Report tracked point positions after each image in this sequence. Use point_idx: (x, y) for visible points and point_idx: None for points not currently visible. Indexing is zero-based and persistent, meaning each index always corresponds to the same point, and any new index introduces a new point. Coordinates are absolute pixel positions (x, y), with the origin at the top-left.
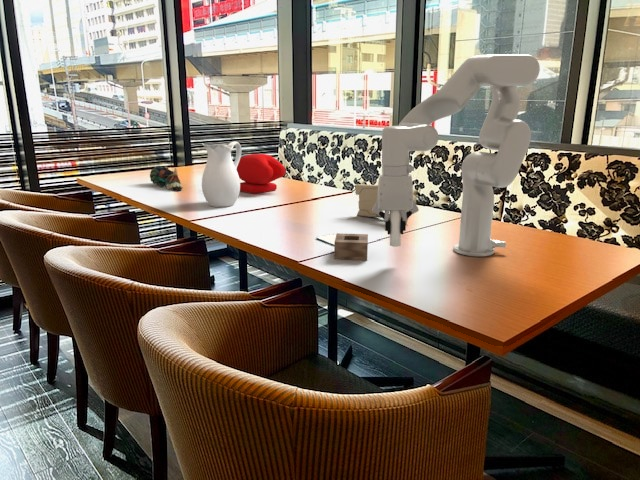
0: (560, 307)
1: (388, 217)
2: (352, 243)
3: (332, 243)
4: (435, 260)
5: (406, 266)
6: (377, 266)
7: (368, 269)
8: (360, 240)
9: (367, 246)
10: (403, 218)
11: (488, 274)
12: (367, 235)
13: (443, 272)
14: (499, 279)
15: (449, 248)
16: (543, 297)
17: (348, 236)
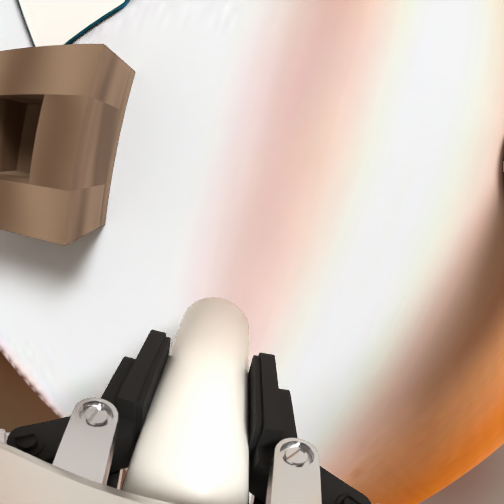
0: (437, 491)
1: (118, 486)
2: (4, 228)
3: (24, 6)
4: (409, 255)
5: (263, 321)
6: (139, 308)
7: (104, 335)
8: (35, 189)
9: (74, 240)
10: (261, 499)
11: (465, 385)
12: (92, 71)
13: (370, 382)
14: (460, 412)
15: (498, 115)
16: (450, 470)
17: (2, 95)
